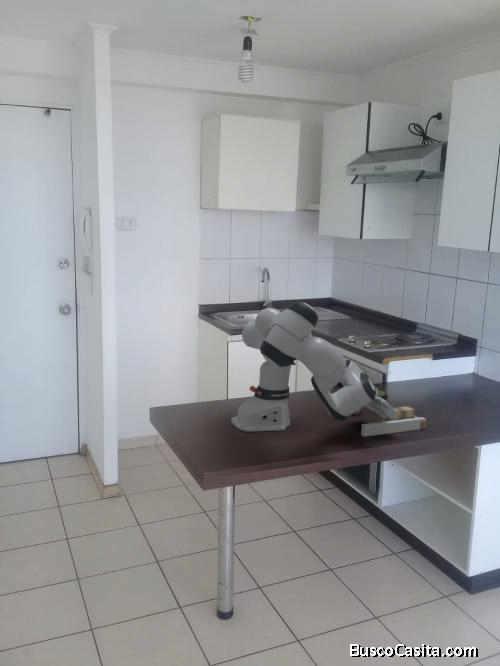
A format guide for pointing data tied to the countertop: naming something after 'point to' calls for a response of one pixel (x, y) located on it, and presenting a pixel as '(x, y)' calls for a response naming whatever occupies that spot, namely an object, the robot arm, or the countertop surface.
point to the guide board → (393, 426)
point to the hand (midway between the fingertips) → (384, 415)
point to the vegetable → (382, 395)
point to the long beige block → (402, 414)
